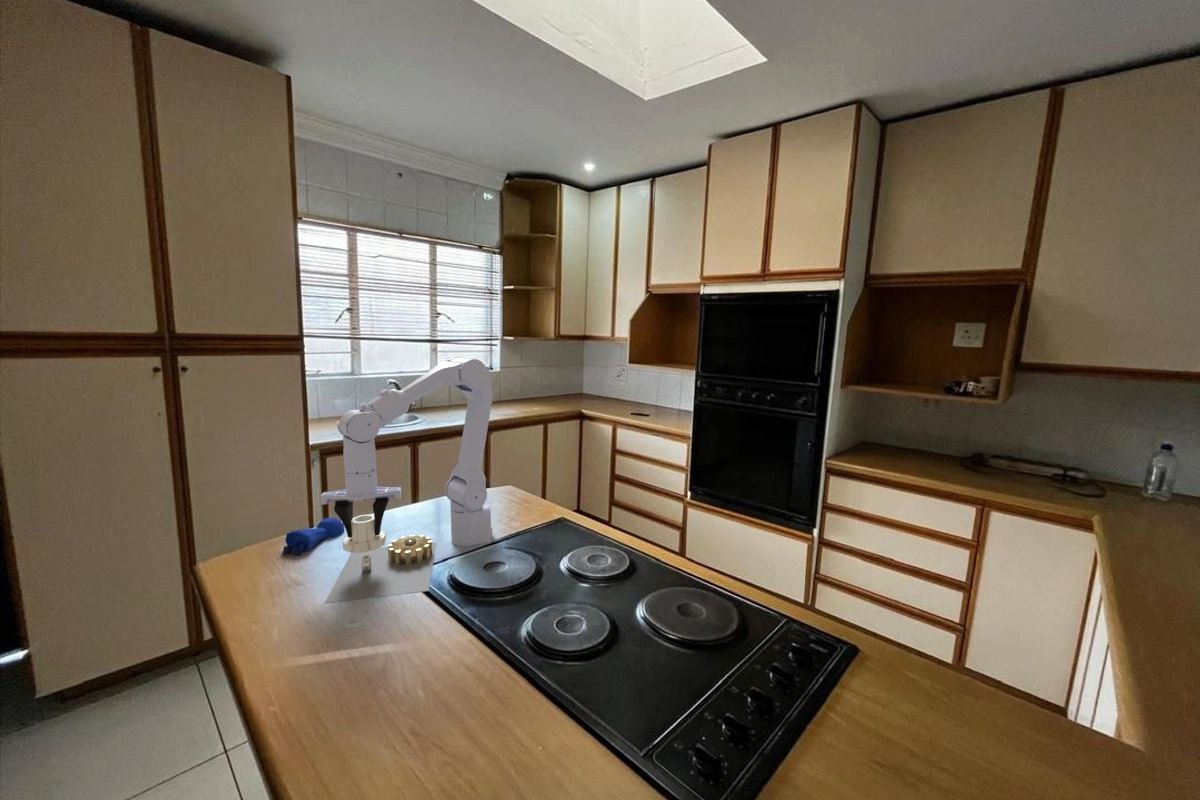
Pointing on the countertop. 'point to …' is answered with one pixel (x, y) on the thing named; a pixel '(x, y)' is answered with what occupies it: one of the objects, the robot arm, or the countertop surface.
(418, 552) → the sun gear
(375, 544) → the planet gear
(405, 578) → the carrier plate
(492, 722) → the countertop surface
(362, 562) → the carrier pin
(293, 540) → the toy
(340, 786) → the countertop surface
